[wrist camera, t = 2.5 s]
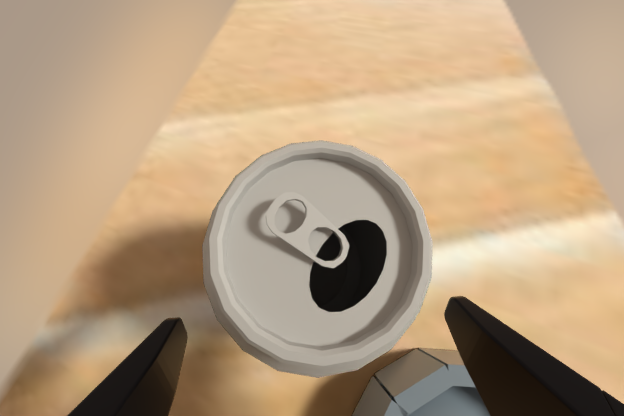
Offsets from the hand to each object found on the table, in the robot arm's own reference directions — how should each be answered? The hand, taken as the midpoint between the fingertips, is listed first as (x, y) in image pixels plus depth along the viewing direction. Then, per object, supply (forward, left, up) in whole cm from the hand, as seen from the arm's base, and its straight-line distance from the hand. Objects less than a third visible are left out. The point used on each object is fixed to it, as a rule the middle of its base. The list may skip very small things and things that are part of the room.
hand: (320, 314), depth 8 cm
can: (+2, +1, -10) cm, 10 cm away
